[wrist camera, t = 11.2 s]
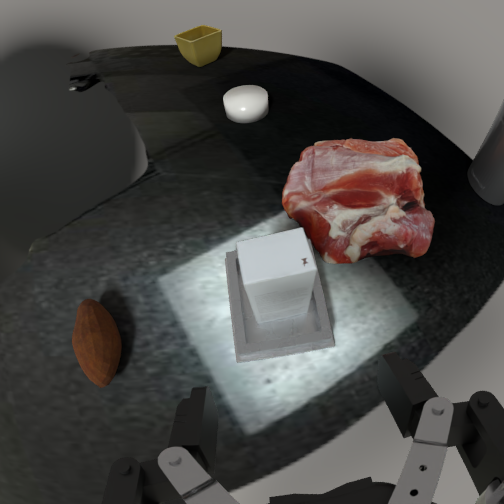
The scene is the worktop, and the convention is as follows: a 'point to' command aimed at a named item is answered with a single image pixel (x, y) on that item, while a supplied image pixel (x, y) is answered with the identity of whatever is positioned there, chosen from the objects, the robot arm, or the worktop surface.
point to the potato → (96, 342)
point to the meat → (359, 200)
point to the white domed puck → (246, 104)
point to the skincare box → (277, 274)
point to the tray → (275, 322)
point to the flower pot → (200, 44)
